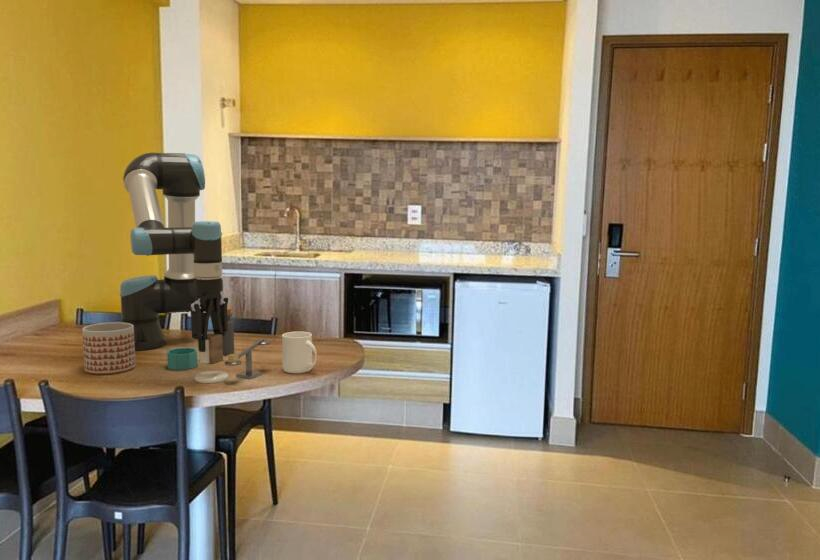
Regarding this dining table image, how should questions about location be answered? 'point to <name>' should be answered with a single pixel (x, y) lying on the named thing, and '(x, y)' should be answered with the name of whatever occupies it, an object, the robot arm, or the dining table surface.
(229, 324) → the bottle
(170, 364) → the collar
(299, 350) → the mug
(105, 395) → the dining table surface
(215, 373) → the dish
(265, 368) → the dining table surface
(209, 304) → the robot arm
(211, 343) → the block
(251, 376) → the balance
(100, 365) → the planter
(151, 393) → the dining table surface
